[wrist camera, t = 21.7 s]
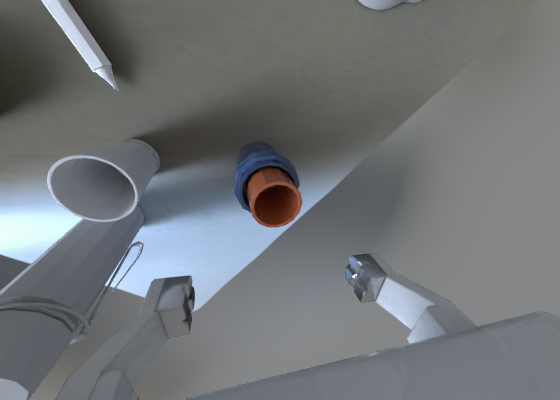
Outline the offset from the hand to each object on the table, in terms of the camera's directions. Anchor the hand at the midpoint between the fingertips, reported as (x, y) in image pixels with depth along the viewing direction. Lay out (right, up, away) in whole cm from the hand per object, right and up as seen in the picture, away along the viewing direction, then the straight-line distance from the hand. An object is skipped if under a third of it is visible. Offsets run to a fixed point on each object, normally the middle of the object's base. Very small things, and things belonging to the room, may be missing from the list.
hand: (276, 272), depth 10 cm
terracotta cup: (-2, +8, +22) cm, 23 cm away
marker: (-24, +25, +14) cm, 37 cm away
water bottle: (-27, +1, +26) cm, 38 cm away
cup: (-23, +10, +22) cm, 33 cm away
